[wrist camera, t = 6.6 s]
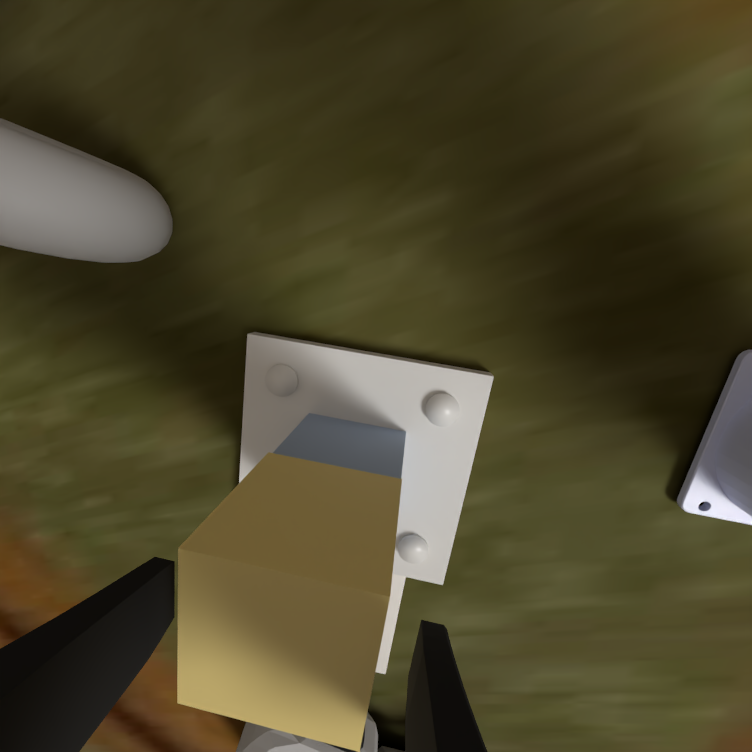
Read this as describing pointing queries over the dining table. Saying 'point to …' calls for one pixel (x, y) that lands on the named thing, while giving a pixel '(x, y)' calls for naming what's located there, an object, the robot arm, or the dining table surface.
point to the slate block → (346, 445)
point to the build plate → (380, 408)
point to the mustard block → (289, 598)
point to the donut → (75, 202)
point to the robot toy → (302, 741)
